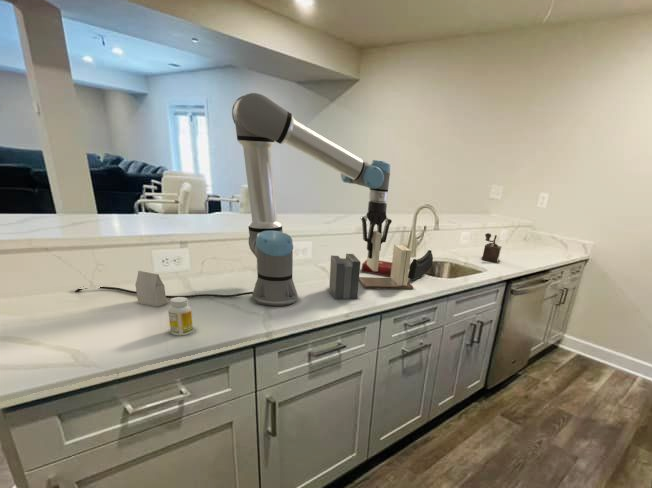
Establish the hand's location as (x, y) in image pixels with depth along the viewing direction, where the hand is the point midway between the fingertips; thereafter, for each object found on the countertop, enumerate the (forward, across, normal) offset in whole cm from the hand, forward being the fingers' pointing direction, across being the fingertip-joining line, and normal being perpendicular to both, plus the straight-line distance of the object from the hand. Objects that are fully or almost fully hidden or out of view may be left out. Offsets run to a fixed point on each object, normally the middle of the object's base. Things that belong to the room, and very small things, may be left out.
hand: (372, 257), depth 166 cm
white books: (+11, +13, 0) cm, 17 cm away
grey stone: (+12, -78, -22) cm, 82 cm away
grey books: (+12, -15, -13) cm, 23 cm away
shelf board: (+12, +7, 0) cm, 14 cm away
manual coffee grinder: (+12, +97, +54) cm, 112 cm away
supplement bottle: (+12, -67, -45) cm, 82 cm away
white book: (+4, 0, 0) cm, 4 cm away
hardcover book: (+12, +13, +20) cm, 27 cm away
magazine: (+12, +31, +16) cm, 37 cm away
